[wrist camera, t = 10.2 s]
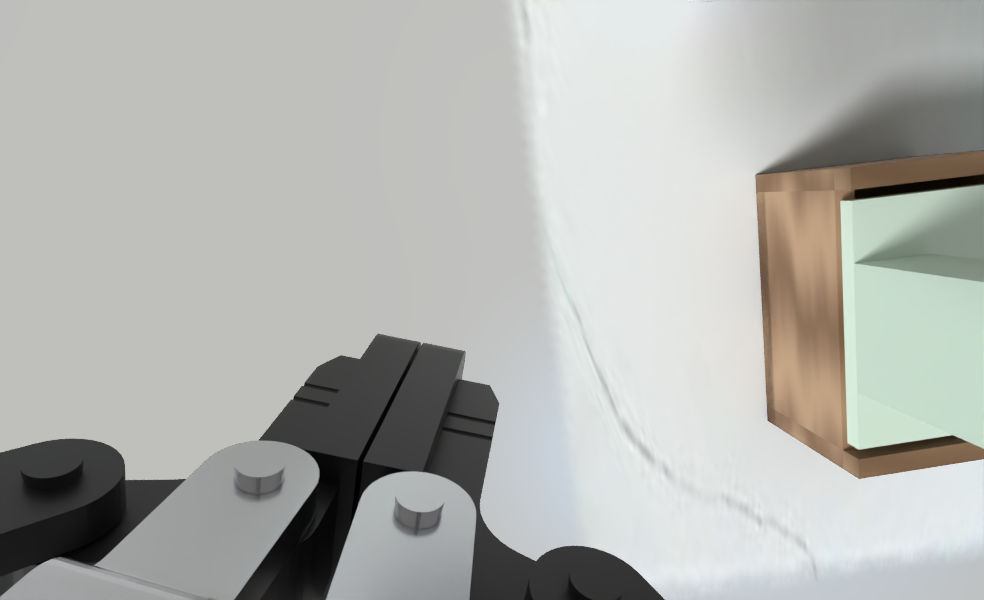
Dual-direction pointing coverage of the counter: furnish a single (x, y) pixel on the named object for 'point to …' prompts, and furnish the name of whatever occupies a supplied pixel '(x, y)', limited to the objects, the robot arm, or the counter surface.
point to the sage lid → (914, 316)
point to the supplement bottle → (702, 0)
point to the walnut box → (834, 303)
